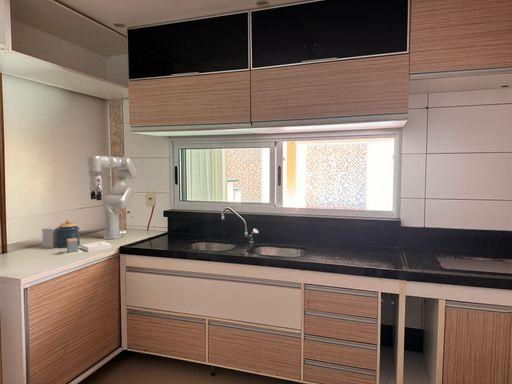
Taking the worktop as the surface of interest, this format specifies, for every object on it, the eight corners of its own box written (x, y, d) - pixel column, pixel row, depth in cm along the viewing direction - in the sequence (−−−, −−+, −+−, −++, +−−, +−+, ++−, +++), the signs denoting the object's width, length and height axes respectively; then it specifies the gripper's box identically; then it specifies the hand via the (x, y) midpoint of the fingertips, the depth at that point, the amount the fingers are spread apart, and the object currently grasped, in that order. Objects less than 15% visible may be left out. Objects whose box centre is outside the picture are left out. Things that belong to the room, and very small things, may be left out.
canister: (68, 249, 218) (67, 221, 217) (52, 248, 222) (51, 221, 221) (84, 245, 230) (83, 219, 229) (69, 243, 234) (68, 218, 233)
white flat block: (103, 245, 228) (103, 241, 228) (111, 248, 220) (111, 244, 220) (81, 249, 218) (81, 244, 218) (88, 252, 210) (88, 247, 210)
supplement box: (60, 245, 229) (60, 226, 229) (53, 248, 222) (52, 228, 221) (50, 245, 230) (49, 226, 229) (42, 247, 223) (41, 228, 222)
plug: (76, 250, 212) (75, 238, 212) (78, 251, 210) (77, 238, 209) (67, 252, 209) (66, 239, 208) (69, 253, 206) (68, 240, 206)
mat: (78, 250, 216) (78, 249, 216) (84, 252, 209) (84, 251, 209) (61, 252, 209) (61, 252, 209) (66, 255, 202) (66, 254, 202)
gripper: (106, 174, 227) (106, 200, 228) (96, 174, 239) (96, 198, 240) (94, 174, 221) (95, 200, 222) (84, 174, 233) (85, 199, 235)
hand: (96, 199), depth 231 cm, fingers open, 9 cm apart
